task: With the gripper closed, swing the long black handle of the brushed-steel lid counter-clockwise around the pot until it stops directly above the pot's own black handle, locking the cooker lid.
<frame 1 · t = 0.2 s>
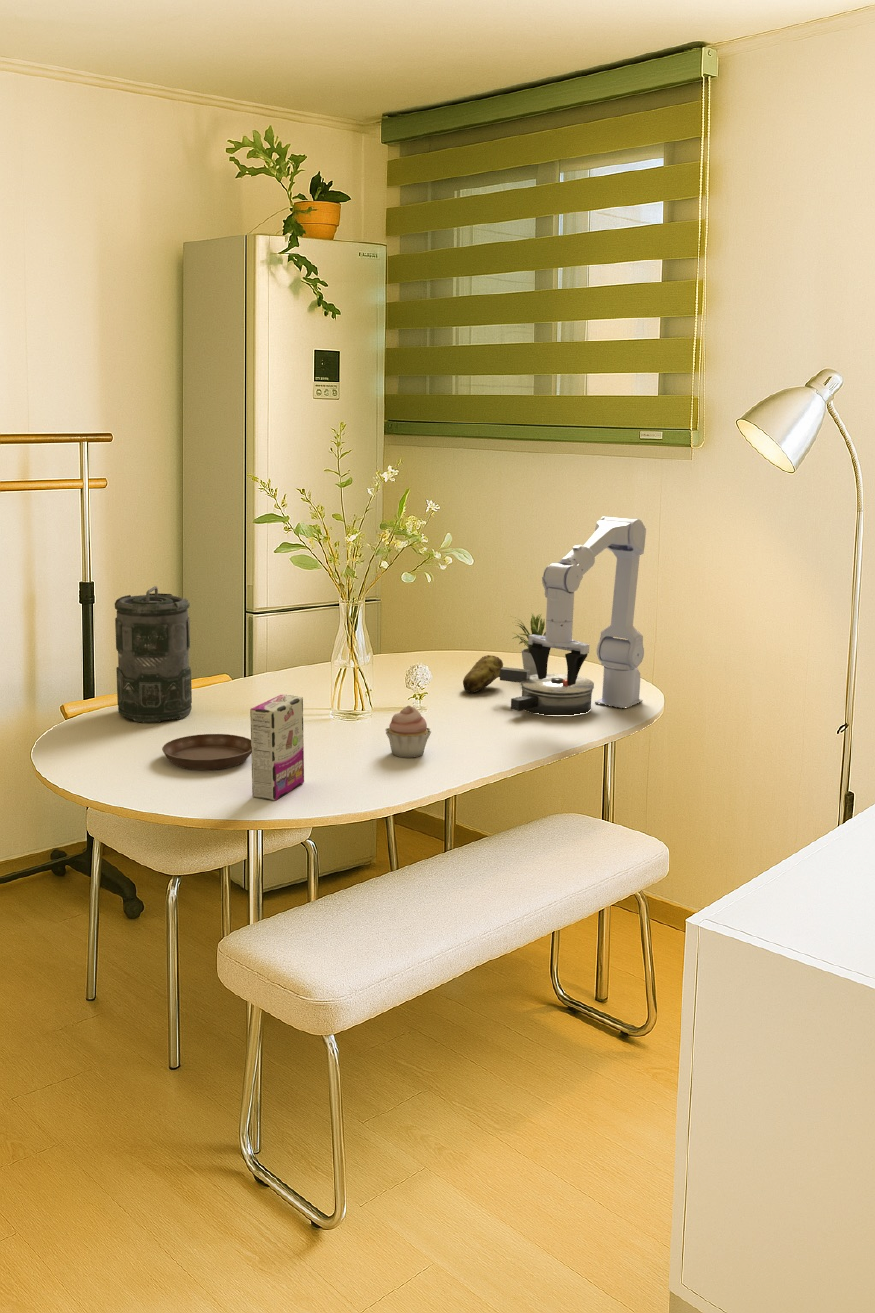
hand: (556, 681, 259), 10 cm above the table, tool pointing down, fingers open, 7 cm apart
cupcake: (407, 754, 238), on the table
potato: (481, 690, 292), on the table
canister: (155, 715, 262), on the table
pot: (556, 707, 276), on the table
plant saucer: (209, 761, 232), on the table
lid: (546, 678, 276), point 7 cm above the table, hinge at -65.0°
candy bar box: (277, 791, 215), on the table
house plant: (530, 674, 310), on the table
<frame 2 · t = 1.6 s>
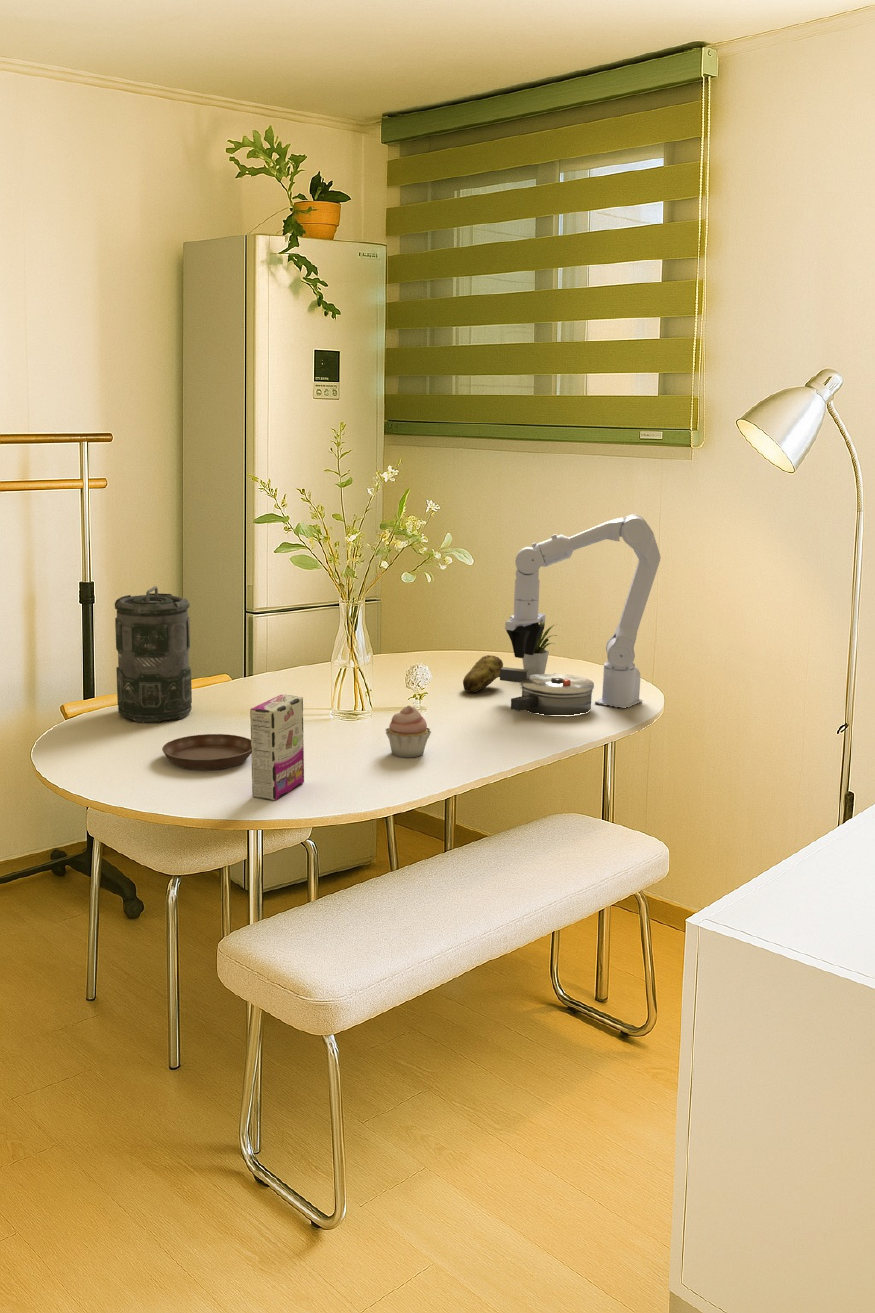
hand: (524, 656, 281), 10 cm above the table, tool pointing down, fingers open, 4 cm apart
nothing on the table moved.
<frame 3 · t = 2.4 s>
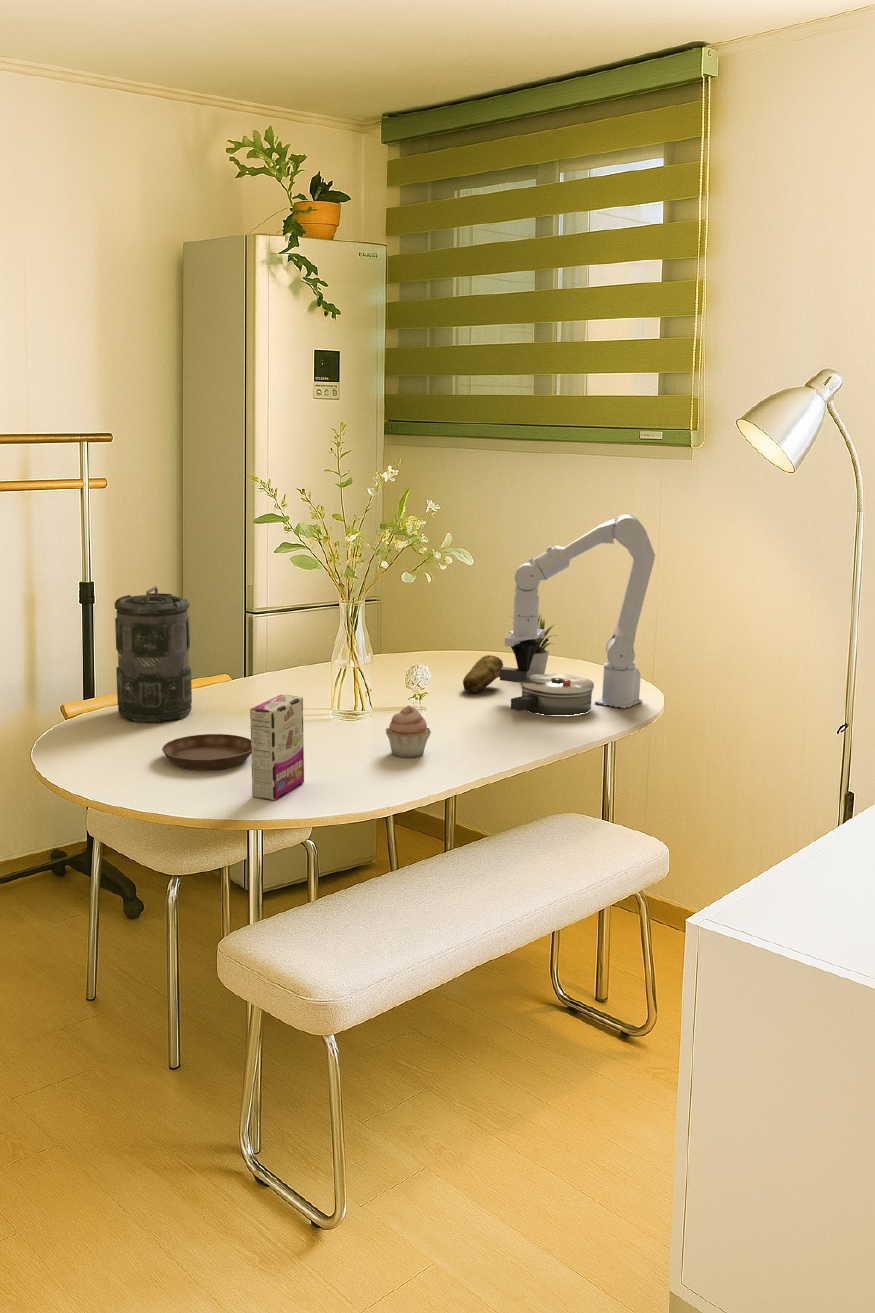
hand: (523, 671, 282), 7 cm above the table, tool pointing down, fingers closed
nothing on the table moved.
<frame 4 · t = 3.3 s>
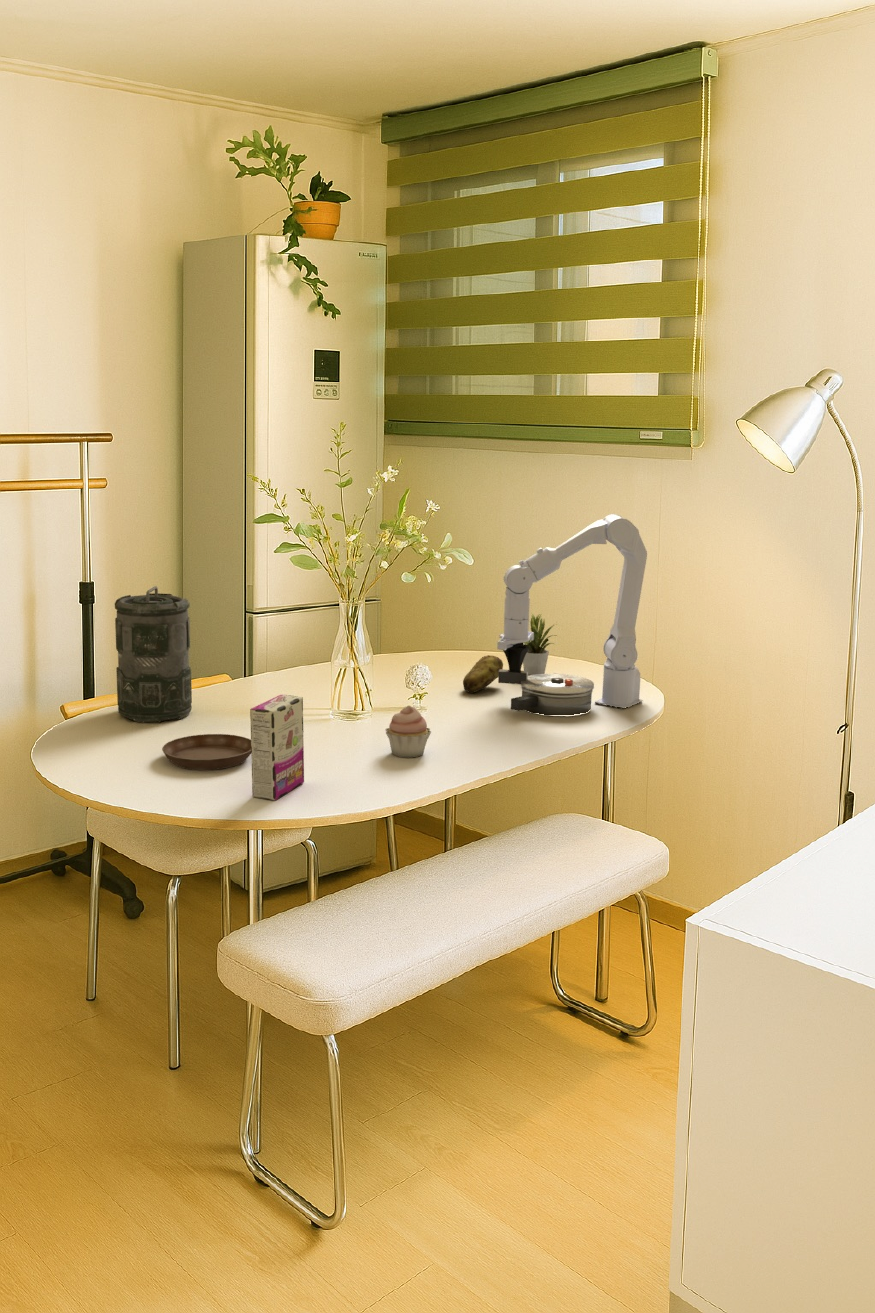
hand: (514, 675, 279), 7 cm above the table, tool pointing down, fingers closed, pressing on lid
lid: (546, 679, 275), point 7 cm above the table, hinge at -53.9°, touching gripper
everything else where it was.
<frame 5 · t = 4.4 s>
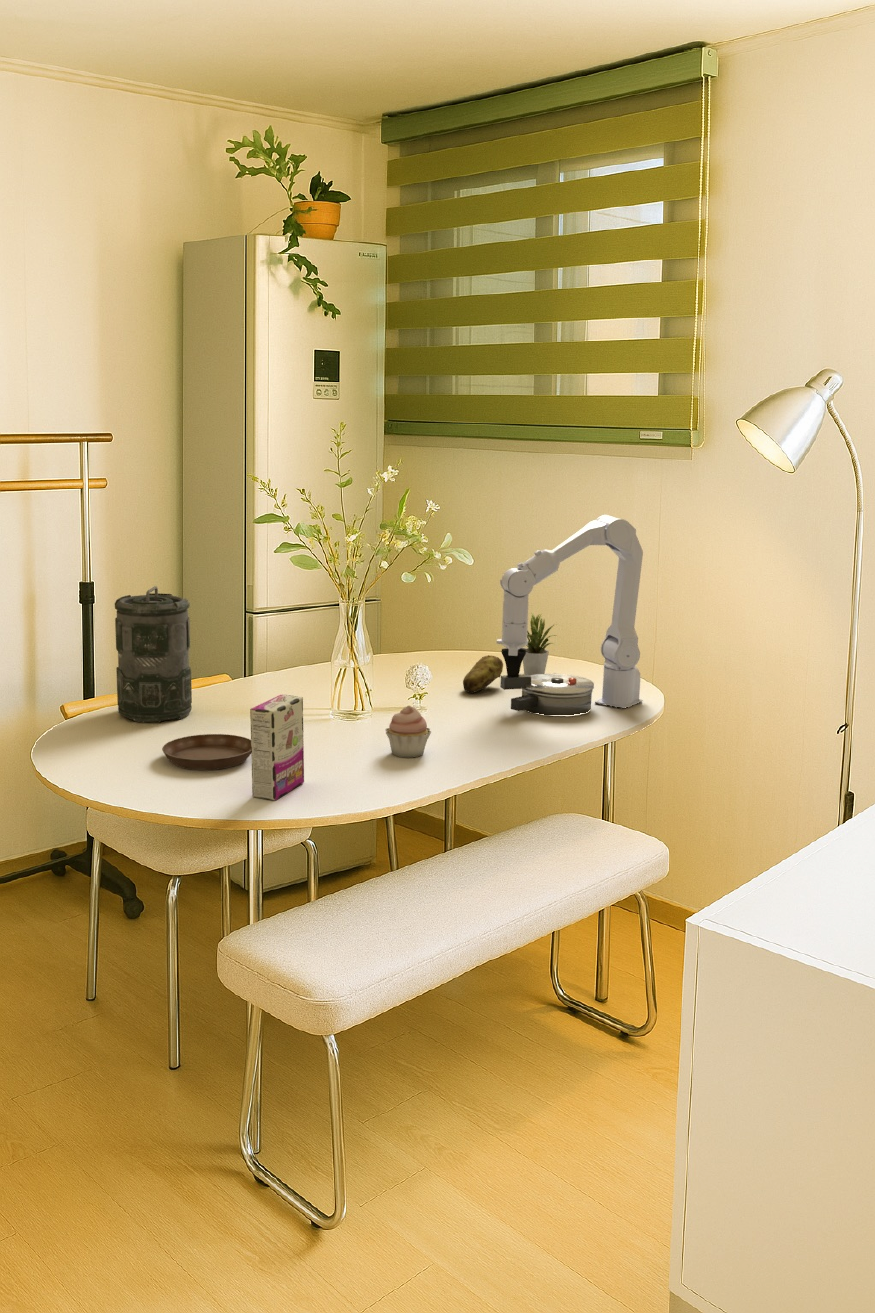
hand: (512, 680, 274), 7 cm above the table, tool pointing down, fingers closed, pressing on lid
lid: (547, 680, 274), point 7 cm above the table, hinge at -26.0°, touching gripper
everything else where it was.
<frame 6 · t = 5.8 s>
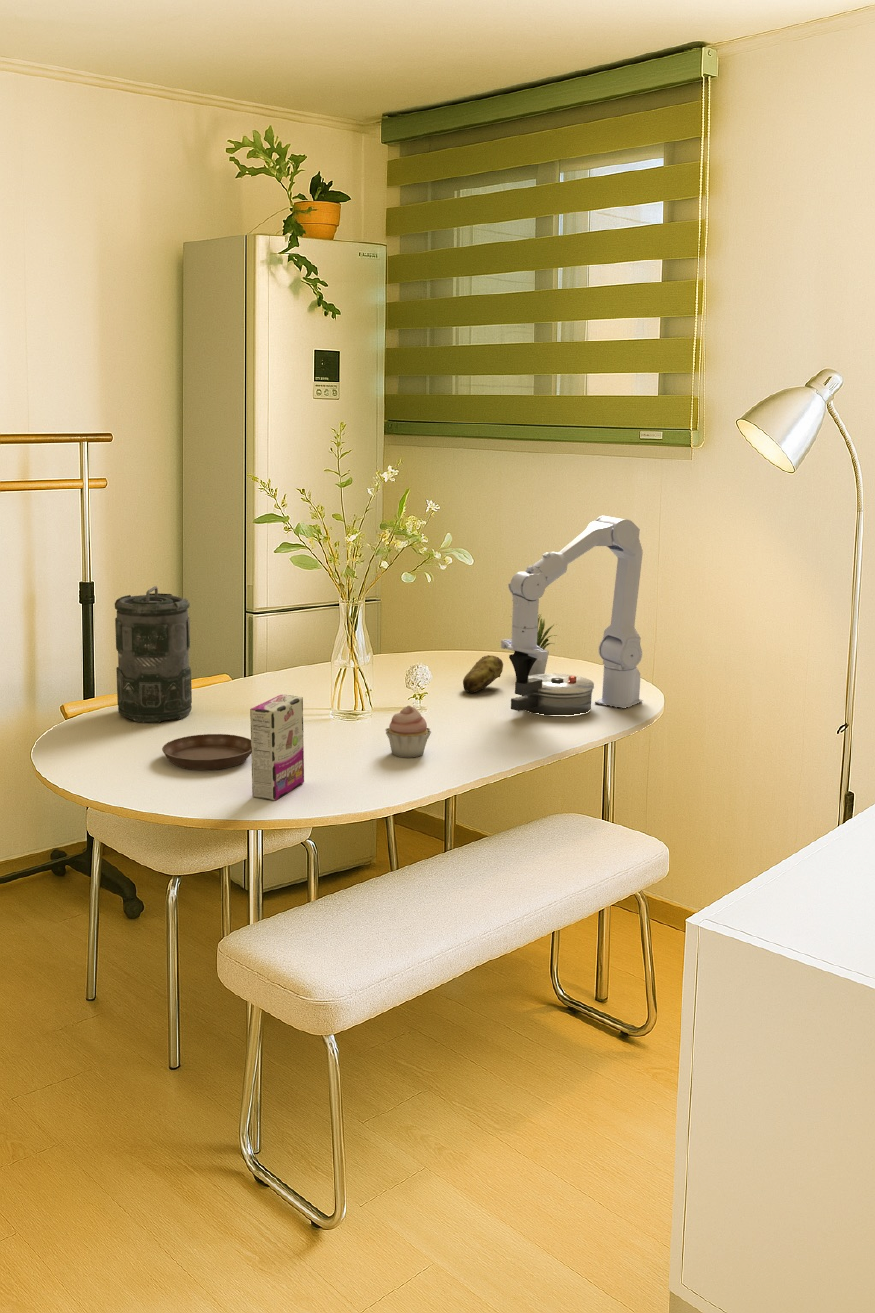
hand: (522, 685, 269), 7 cm above the table, tool pointing down, fingers closed, pressing on lid
lid: (550, 681, 273), point 7 cm above the table, hinge at 1.9°, touching gripper
everything else where it was.
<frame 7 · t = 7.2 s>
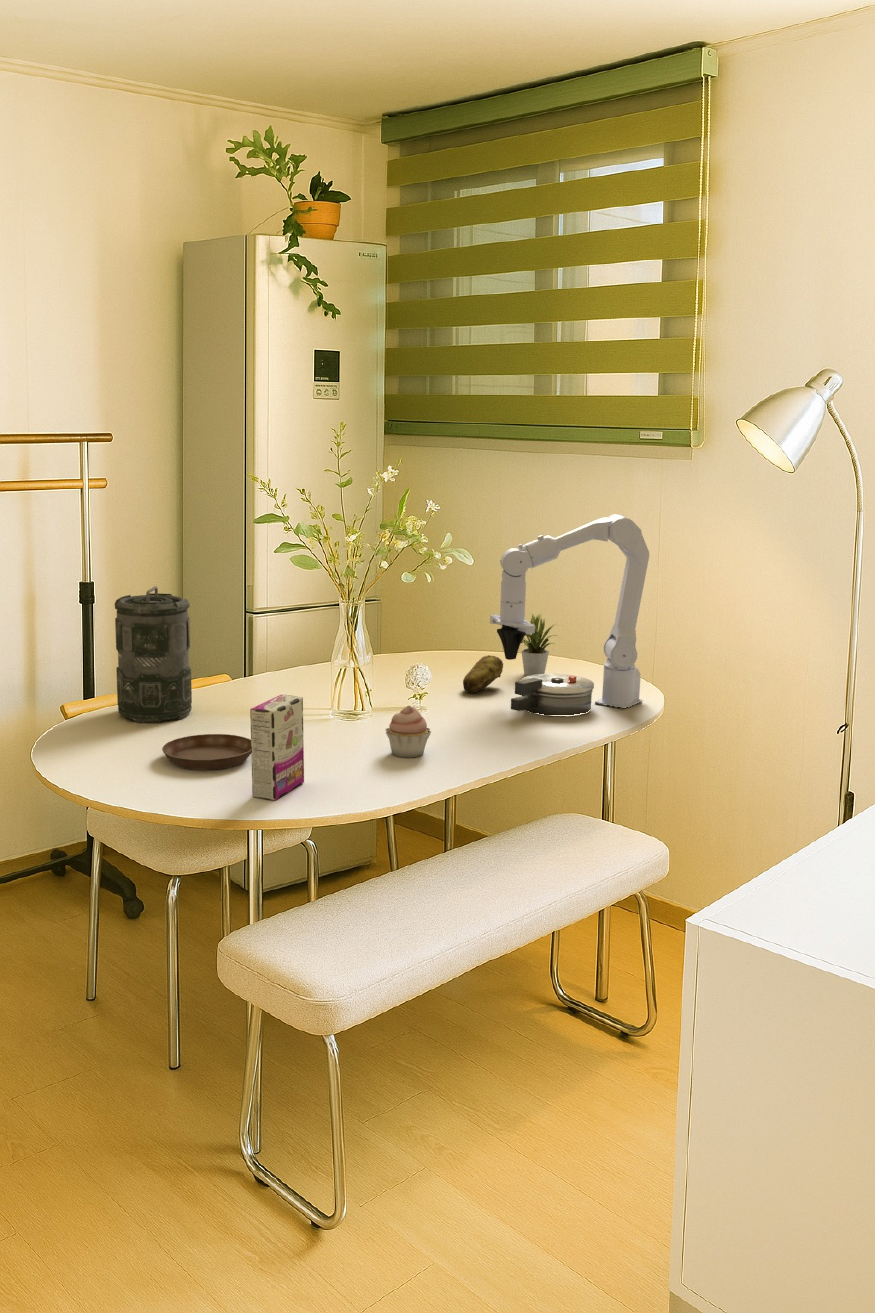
hand: (510, 658, 278), 10 cm above the table, tool pointing down, fingers closed
lid: (550, 681, 273), point 7 cm above the table, hinge at 1.7°
everything else where it was.
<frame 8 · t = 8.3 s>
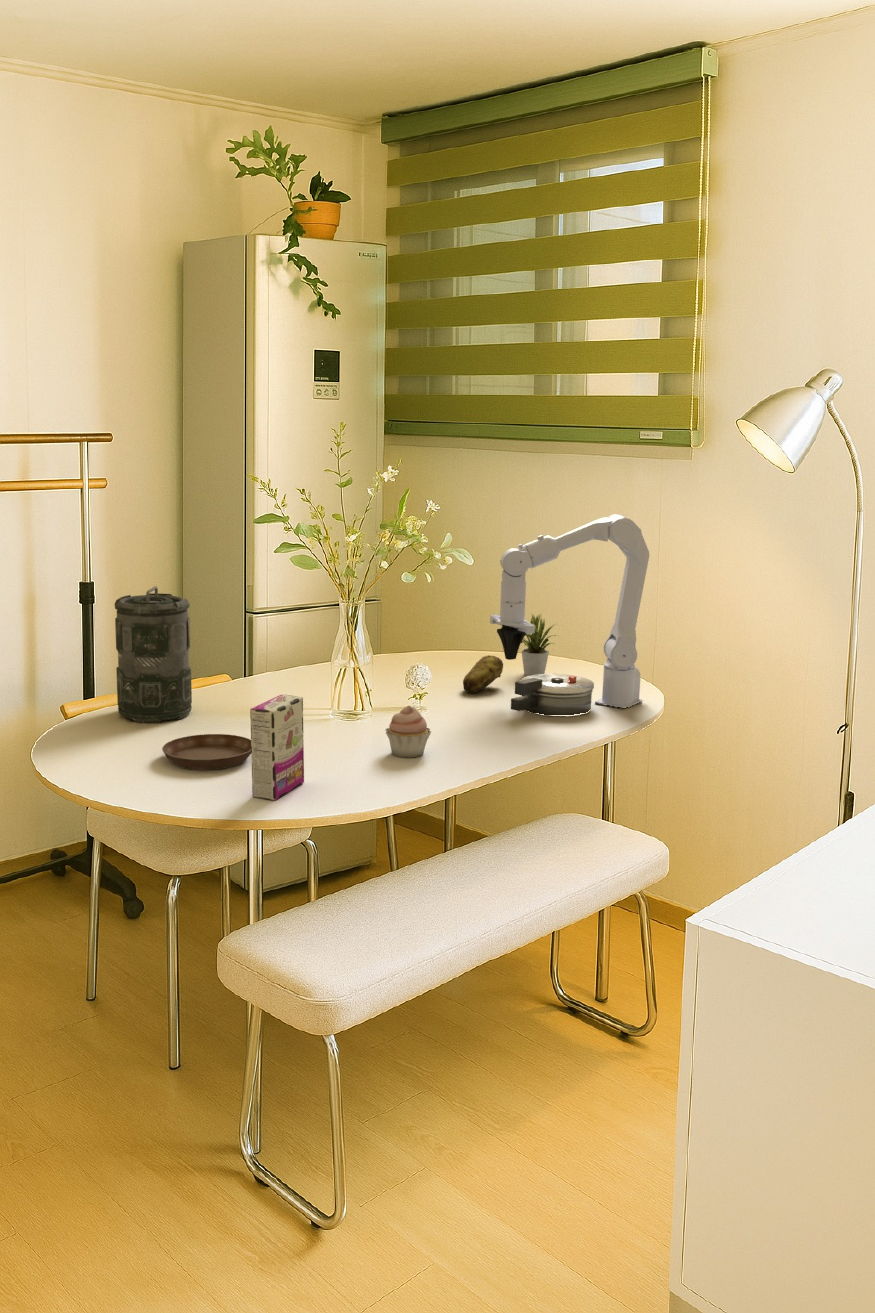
hand: (510, 658, 278), 10 cm above the table, tool pointing down, fingers closed
nothing on the table moved.
at the end: lid at +2° (first picture: -65°) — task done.
